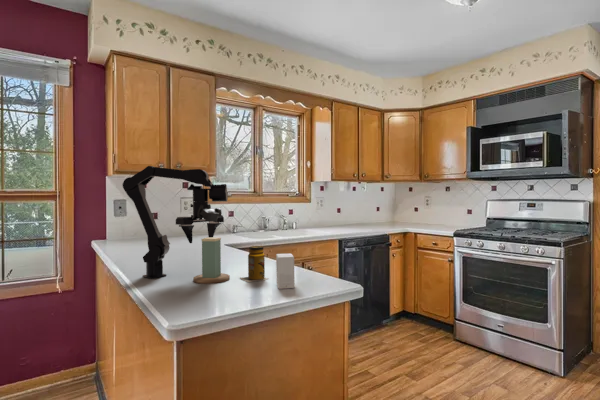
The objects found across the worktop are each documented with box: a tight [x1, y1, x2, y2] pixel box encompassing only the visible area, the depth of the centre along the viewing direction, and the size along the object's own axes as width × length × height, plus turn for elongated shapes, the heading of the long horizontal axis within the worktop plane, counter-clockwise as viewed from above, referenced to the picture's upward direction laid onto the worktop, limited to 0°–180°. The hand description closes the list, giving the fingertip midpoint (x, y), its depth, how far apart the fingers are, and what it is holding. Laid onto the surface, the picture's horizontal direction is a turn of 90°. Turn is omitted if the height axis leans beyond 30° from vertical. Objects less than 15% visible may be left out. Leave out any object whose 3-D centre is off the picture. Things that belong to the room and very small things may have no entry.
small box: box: [275, 253, 296, 290], centre depth 122 cm, size 8×6×10 cm
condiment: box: [240, 245, 269, 283], centre depth 133 cm, size 7×8×12 cm
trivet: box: [193, 272, 231, 285], centre depth 133 cm, size 13×13×1 cm
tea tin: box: [201, 236, 222, 278], centre depth 133 cm, size 5×5×14 cm
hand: (200, 242), depth 140 cm, fingers open, 9 cm apart
